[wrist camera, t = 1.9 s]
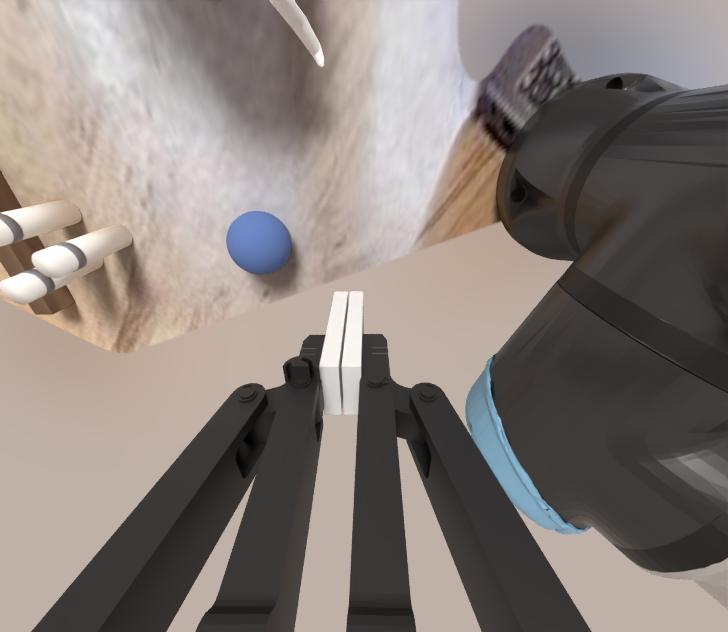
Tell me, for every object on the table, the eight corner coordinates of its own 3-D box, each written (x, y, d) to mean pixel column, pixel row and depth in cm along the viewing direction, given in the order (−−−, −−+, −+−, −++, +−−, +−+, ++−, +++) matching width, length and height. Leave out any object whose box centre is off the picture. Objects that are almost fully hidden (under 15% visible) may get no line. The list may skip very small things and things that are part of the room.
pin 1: (83, 208, 31) (-4, 231, 24) (80, 228, 32) (-6, 256, 25) (56, 194, 30) (-43, 212, 23) (53, 215, 31) (-43, 239, 24)
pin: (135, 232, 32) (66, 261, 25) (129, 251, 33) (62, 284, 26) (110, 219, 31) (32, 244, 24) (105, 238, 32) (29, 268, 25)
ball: (307, 227, 32) (295, 245, 26) (281, 271, 34) (266, 295, 29) (254, 193, 30) (230, 205, 25) (231, 242, 32) (205, 262, 27)
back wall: (-11, 151, 28) (-49, 153, 26) (74, 301, 36) (52, 314, 34) (-32, 151, 28) (-72, 153, 26) (58, 301, 37) (35, 314, 34)
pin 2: (106, 255, 33) (33, 289, 26) (101, 272, 34) (30, 309, 27) (81, 242, 33) (-1, 273, 25) (77, 260, 34) (-2, 295, 26)
